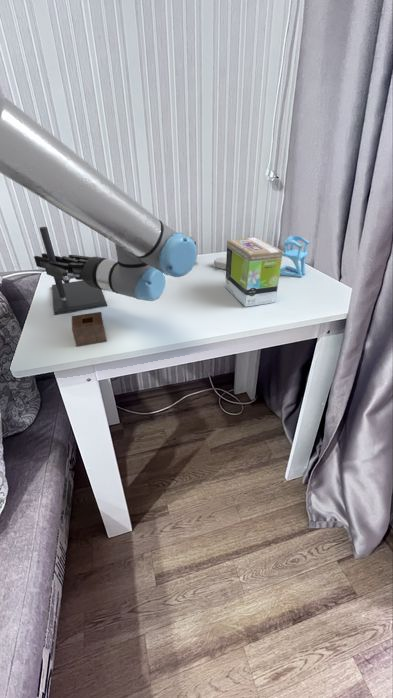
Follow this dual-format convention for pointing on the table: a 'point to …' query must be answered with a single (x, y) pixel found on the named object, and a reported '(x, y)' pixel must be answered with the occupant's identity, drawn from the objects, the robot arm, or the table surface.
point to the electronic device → (220, 263)
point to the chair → (295, 256)
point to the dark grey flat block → (77, 298)
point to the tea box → (252, 270)
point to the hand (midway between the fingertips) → (40, 259)
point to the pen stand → (88, 329)
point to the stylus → (51, 255)
